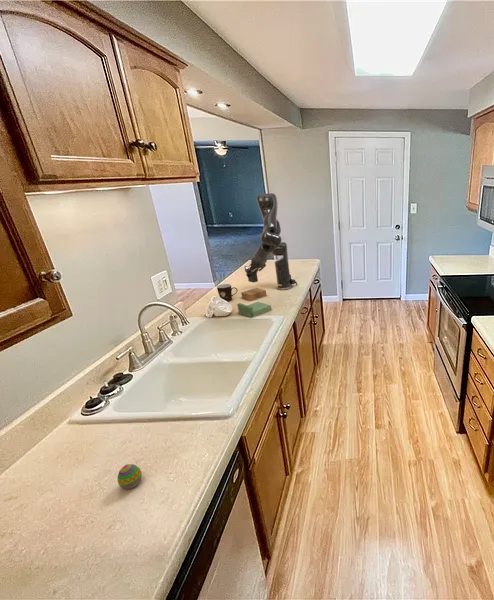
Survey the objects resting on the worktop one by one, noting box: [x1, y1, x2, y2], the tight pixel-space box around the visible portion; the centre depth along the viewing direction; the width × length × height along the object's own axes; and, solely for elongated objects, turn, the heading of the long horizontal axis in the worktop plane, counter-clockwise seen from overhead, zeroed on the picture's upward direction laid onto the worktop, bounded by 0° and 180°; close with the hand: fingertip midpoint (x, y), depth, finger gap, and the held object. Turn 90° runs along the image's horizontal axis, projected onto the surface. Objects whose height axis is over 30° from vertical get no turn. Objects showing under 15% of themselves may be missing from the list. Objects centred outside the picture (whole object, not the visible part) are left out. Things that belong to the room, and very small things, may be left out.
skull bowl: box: [204, 295, 234, 318], centre depth 191 cm, size 10×14×12 cm
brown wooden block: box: [240, 287, 267, 302], centre depth 221 cm, size 12×10×4 cm
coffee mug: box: [216, 283, 238, 303], centre depth 213 cm, size 12×9×10 cm
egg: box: [117, 463, 143, 490], centre depth 85 cm, size 5×5×6 cm
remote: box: [247, 270, 259, 284], centre depth 196 cm, size 3×5×9 cm, turn 56°
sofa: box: [236, 301, 272, 318], centre depth 196 cm, size 14×12×6 cm
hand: (250, 275), depth 197 cm, fingers closed on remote, 3 cm apart
